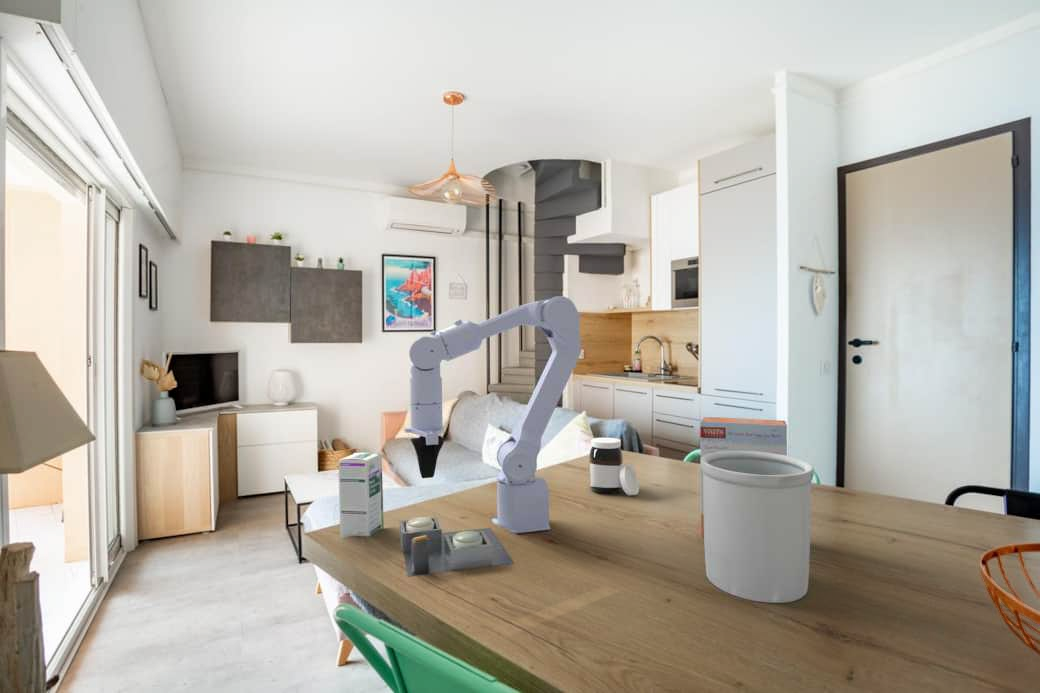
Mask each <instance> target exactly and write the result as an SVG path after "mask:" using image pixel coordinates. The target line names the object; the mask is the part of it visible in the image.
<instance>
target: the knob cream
mask: <svg viewBox="0 0 1040 693" xmlns="http://www.w3.org/2000/svg"><path fill="white" fill-rule="evenodd" d="M430 518H431V517H427V516H425V517H424V516H420V517H419V516H418V517H417V516H416V517H413V518H410V519H408V520H409V521H408V522H407V523H406V532H411V531H421V530H430V529H434V522H433V521H432V519H430Z"/></svg>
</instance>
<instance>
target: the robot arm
mask: <svg viewBox="0 0 1040 693" xmlns="http://www.w3.org/2000/svg"><path fill="white" fill-rule="evenodd" d="M580 324H581V315H580V313H579V311H578V309H577V307H576V305H575V304H574V302H573V301H572V300H571V299H570V298H568V297H566V296H562V295H557V296H554V297H551V298H548V299H541V300H537V301H533V302H529V303H524V304H522V305H519V306H516V307H514V308H512V309H509V310H507V311H505V312H502V313H500V314H498V315H496V316H495V315H494V316H493V317H491V318H488V319H485V320H484V321H481V322H479V323H475V322H473V321H471V320H469V319H467V320H464V321H462V319H458V320H455V321H454V323H453V325H451V326H448V327H447V328H443V329H441V330H438V331H436V330H432V331H430V333H429V334H430V336H421V337H420V338H418V339H416V340H415V341H413V343H412V344H411V346H410V349H409V352H408V353H409V358H410V362H411V363H412V364H411V366H410V367H411V368H410V375H411V376H410V379H409V381H410V388H409V389H410V394H409V395H410V426H406V427H404V428H403V431H404V433H410V434H412V435H413V434H414V435H416V436H419V437H413V438H412V437H411V438H410V440H409V441H411V443H412V446H413V448H414V450H415V455H416V458H417V464H418V469H419V473H420V476H421V479H431V478H434V476H435V472H436V467H437V461H438V458H439V454H440V451H441V450H442V447H443V445H444V439H443V437H442V435H441V434H442V433H443V432H444V425H443V378H442V377H441V362H442V361H446V362H449V361H453V360H454V359H457V358H459V357H462V356H464V355H466V354H469V353H471V352H474V351H477V350H479V349H480V347H481V345H482V343H483V340H485V339H488V338H491V337H493V336H496V335H499V334H501V333H503V332H506V331H509V330H512V329H514V328H517V327H520V326H528V327H538V328H539V329H540V330H541V331H542V332H543V334H544V335H545V336H546V338H547V341H548V342H549V345H550V347H551V350H552V352H551V354H550V357H549V359H548V361H547V362H546V365H545V367H544V369H543V371H542V374H541V375H540V378H539V379H538V382H537V384H536V386H535V388H534V390H533V393H532V394H531V396H530V399H529V401H528V403H527V404H526V408H525V409H524V411H523V413H522V416H521V417H520V420H519V421H518V424H517V426H515V427H514V429H513V430H511V433H510V435H509V437H508V439H506V440H505V441H504V442H503V443H501V444H500V445H499V446H498V450H497V452H496V460H497V464H498V465H499V467H500V468H501V470H500V472H499V473H498V475H497V477H496V482H497V483H496V491H497V492H496V496H497V497H496V498H497V499H496V500H497V501H496V504H497V505H496V507H497V508H496V509H497V512H496V514H497V517H494V518H491V522H492V523H493V524H495V525H498V526H499V527H501V528H503V529H505V530H507V531H510V532H512V533H513V534H523V533H532V532H539V531H550V530H551V526H550V491H549V486H548V483H547V481H546V479H545V478H544V477H542V476H540V477H536V475H535V474H536V472H537V467H538V463H537V460H538V456H539V454H540V451H541V446H542V438H543V435H544V433H545V431H546V429H547V427H548V424H549V422H550V420H551V418H552V416H553V413H554V412H555V409H556V408H557V405H558V403H559V401H560V399H561V397H562V395H563V392H564V390H565V389H566V386H567V384H568V381H569V380H570V377H571V375H572V374H573V371H574V369H575V367H576V365H577V363H578V360H579V358H580V356H581V353H582V342H581V339H582V338H581V330H580Z"/></svg>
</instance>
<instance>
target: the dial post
mask: <svg viewBox="0 0 1040 693" xmlns="http://www.w3.org/2000/svg"><path fill="white" fill-rule="evenodd" d="M411 563H412V572H413V573H425V572H427V571H428V570H429V538H428V537H427V536H426V535H424V536H420V537H415V538H413V539H412V540H411Z"/></svg>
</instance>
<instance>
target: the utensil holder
mask: <svg viewBox="0 0 1040 693" xmlns="http://www.w3.org/2000/svg"><path fill="white" fill-rule="evenodd" d="M701 469H702V471H703V505H704V536H703V540H704V541H703V542H704V543H703V544H704V559H705V560H704V562H705V574H706V576H707V579H708V580H709V582H710V583H711V584H712V585H713V586H714V587H716V588H718V589H719V590H720V591H723V592H725V593H727V594H729V595H732V596H734V597H737V598H740V599H744V600H747V601H748V600H749V601H752V602H753V601H754V602H759V603H770V604H771V603H772V604H774V603H775V604H783V603H791V602H794V601H798V600H800V599H803V597H804V596H805V595H806V594H808V590H809V578H810V577H809V576H810V553H811V552H810V551H811V508H812V507H811V505H812V504H811V503H812V501H811V500H812V496H811V495H812V481H813V478H814V475H815V473H814V471H815V470H814V466H813V465H812V464H810V463H809V462H807V461H805V460H803V459H801V458H796V457H793V456H789V455H787V456H786V455H780V454H774V453H766V452H755V451H722V452H714V453H709V454H706V455H704V456H703V457H702V458H701V465H700V470H701Z"/></svg>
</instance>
